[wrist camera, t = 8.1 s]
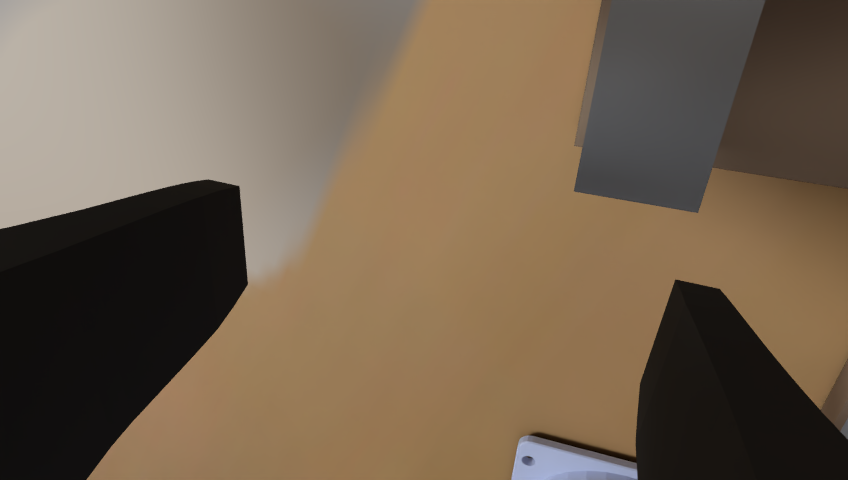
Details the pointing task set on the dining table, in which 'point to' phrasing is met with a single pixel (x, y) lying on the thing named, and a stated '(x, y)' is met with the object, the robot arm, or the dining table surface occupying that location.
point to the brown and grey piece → (713, 96)
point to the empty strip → (838, 402)
